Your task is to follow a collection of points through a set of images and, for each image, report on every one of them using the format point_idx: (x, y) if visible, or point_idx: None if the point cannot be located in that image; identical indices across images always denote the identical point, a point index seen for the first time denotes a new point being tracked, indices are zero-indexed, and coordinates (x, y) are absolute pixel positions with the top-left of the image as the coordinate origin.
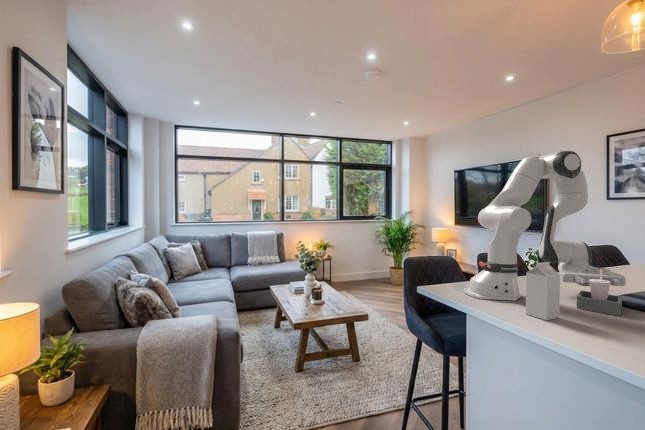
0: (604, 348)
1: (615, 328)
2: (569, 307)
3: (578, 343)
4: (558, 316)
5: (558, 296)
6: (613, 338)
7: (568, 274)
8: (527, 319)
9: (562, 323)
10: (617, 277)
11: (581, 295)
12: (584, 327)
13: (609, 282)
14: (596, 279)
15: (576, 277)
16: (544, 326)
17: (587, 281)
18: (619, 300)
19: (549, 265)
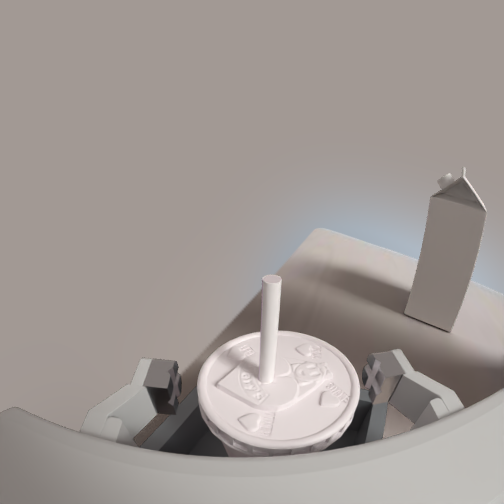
0: (335, 247)
1: (297, 299)
2: (393, 424)
3: (362, 250)
4: (405, 309)
5: (419, 257)
6: (317, 267)
7: (502, 389)
8: None
9: (391, 292)
10: (56, 424)
11: (366, 435)
12: (355, 288)
13: (226, 344)
14: (281, 439)
15: (445, 391)
16: (410, 275)
17: (368, 362)
18: (197, 394)
19: (460, 177)
